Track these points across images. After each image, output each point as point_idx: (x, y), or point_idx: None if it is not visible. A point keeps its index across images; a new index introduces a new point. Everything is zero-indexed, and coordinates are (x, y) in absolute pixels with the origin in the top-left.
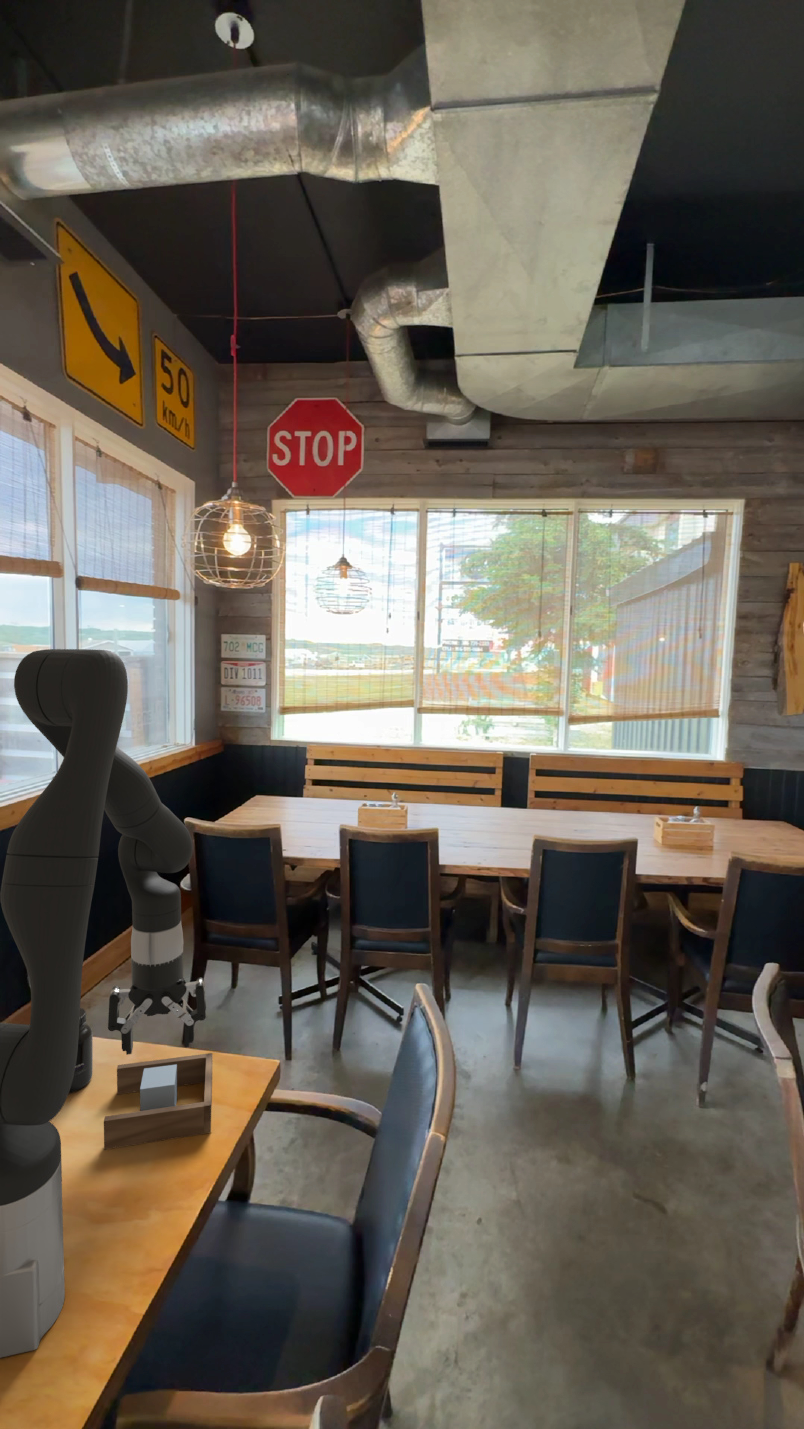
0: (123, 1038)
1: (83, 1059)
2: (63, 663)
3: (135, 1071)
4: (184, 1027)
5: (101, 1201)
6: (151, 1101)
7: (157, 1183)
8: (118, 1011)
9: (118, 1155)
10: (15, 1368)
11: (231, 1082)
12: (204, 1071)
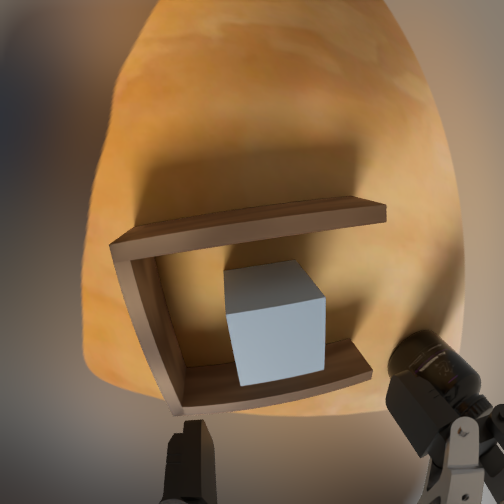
0: (443, 406)
1: (424, 375)
2: None
3: (334, 373)
4: (201, 493)
5: (318, 68)
6: (284, 284)
7: (220, 90)
8: (487, 471)
9: (320, 175)
10: None
11: (137, 362)
12: (188, 383)
